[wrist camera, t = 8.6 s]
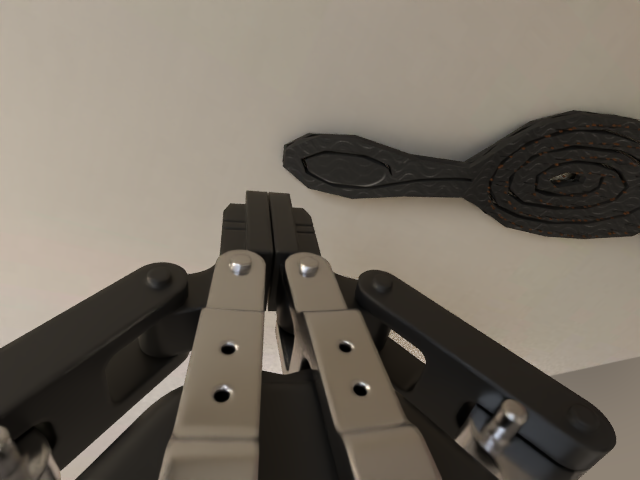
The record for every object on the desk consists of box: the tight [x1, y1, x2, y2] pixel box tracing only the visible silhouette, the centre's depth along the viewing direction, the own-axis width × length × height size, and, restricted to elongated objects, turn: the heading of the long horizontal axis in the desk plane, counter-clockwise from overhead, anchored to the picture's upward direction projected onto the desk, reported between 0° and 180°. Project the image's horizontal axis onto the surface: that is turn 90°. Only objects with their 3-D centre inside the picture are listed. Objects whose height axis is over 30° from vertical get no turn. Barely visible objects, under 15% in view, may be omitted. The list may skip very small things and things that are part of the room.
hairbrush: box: [283, 110, 640, 239], centre depth 23 cm, size 8×4×25 cm
